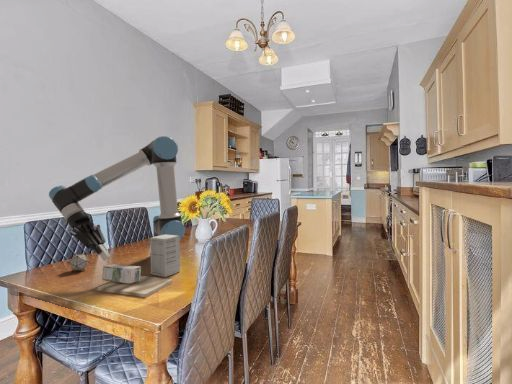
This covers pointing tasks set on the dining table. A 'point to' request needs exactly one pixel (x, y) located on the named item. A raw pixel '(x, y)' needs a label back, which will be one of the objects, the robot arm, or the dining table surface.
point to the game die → (78, 262)
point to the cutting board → (137, 286)
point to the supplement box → (165, 255)
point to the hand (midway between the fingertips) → (107, 258)
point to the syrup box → (121, 273)
